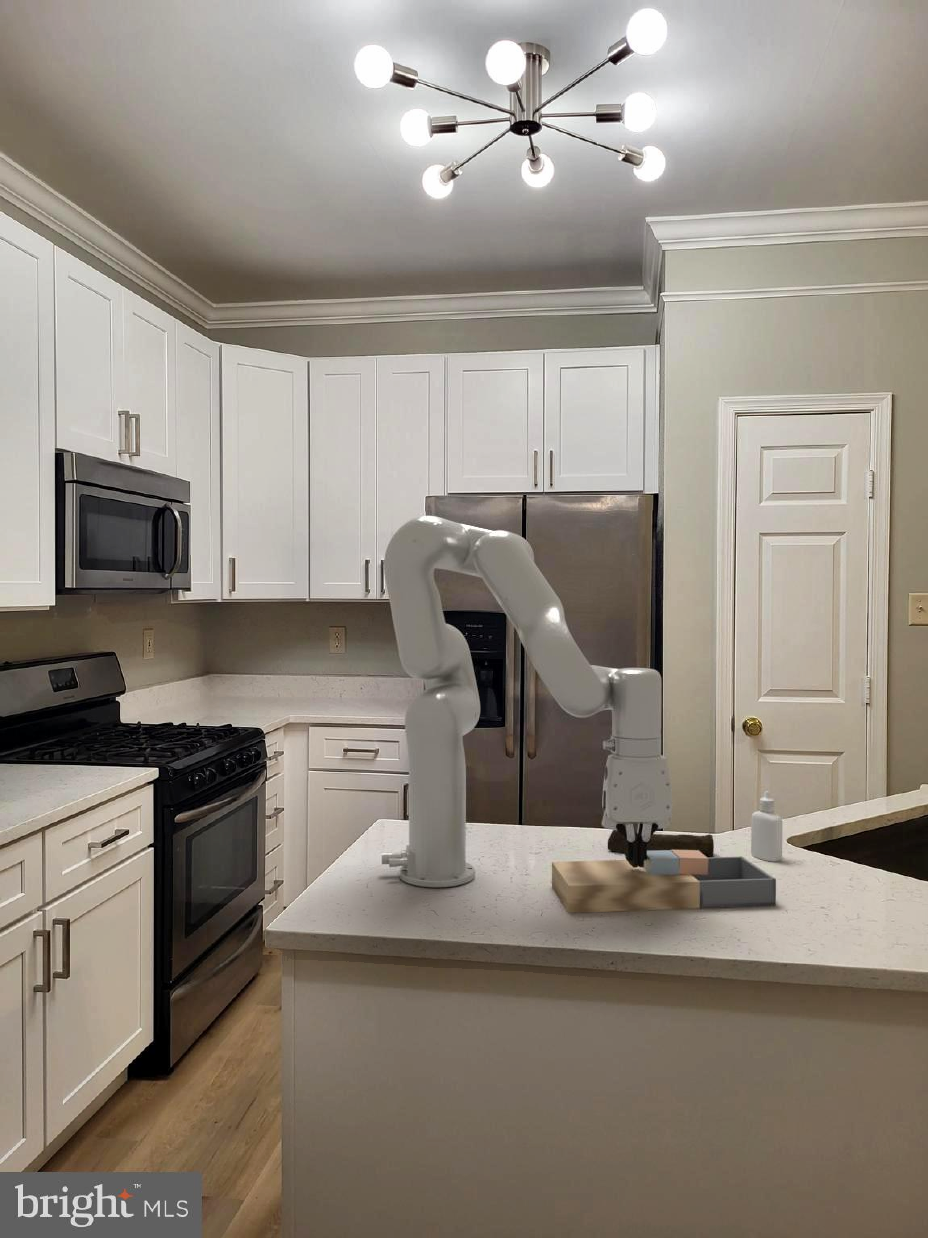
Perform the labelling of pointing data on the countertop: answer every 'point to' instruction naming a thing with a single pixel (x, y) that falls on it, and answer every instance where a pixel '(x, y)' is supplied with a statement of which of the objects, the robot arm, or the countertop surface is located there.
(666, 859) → the pale blue tile
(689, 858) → the terracotta tile
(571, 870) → the oak board
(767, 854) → the eye dropper bottle
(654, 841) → the hand tool
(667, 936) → the countertop surface
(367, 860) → the countertop surface
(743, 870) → the tray
